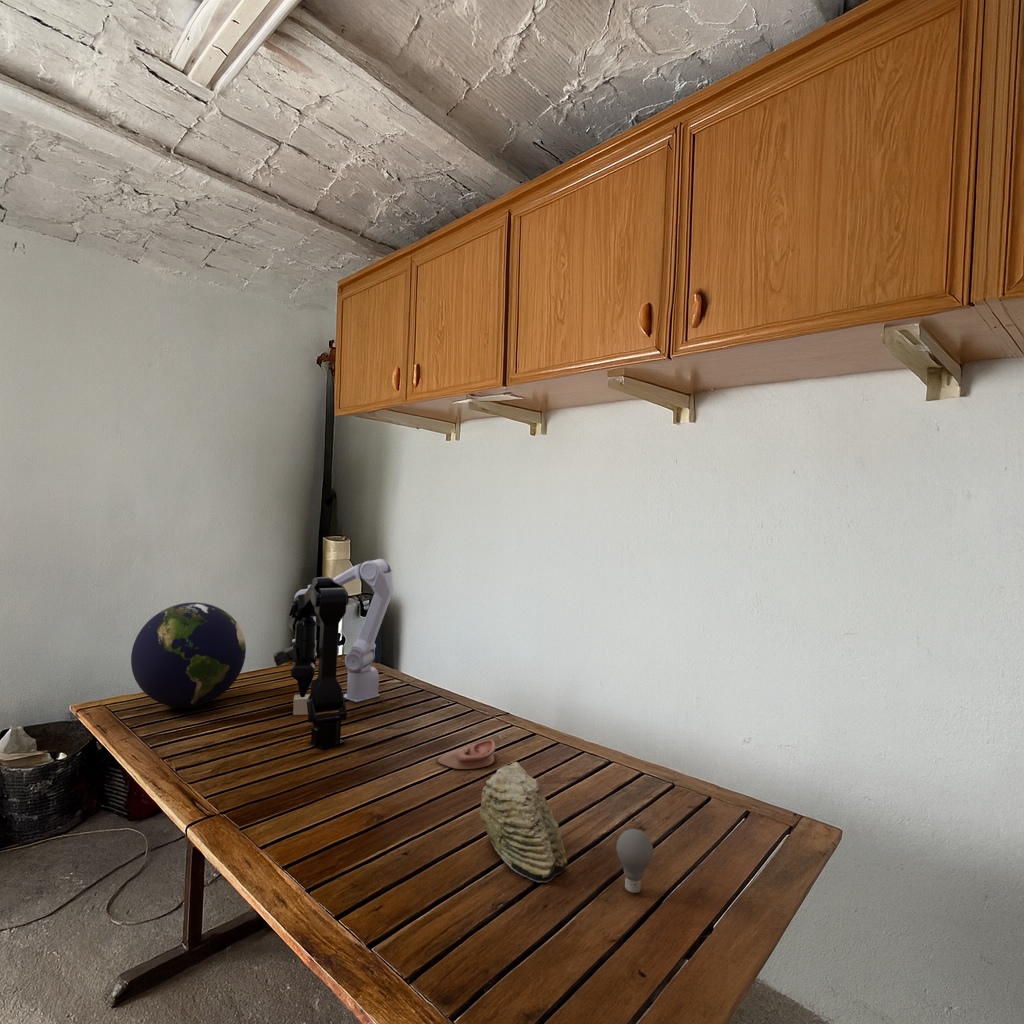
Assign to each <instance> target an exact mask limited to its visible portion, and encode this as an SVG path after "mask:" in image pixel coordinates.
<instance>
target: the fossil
mask: <svg viewBox="0 0 1024 1024" xmlns="http://www.w3.org/2000/svg"><path fill="white" fill-rule="evenodd" d="M479 819H480V820H481V822H482V823H483V827H484V829H485V832H486V833H487V836H488V838H489V840H490V842H491V844H492V845H493V848H494V850H495V852H496V853H497V854H498V856H500V858H501V859H502V861H503V862H504V863H505V864H506V865H507V867H509V868H510V869H511V870H513V871H514V873H517V874H519V875H520V876H522V877H525V878H527V879H528V880H531V881H533V882H536V883H548V882H550V881H552V880H553V879H554V878H555V877H556V876H557V875H560V874H561V873H563V872H564V871H565V870H566V868H567V867H568V866H569V863H568V859H567V856H566V848H565V847H564V841H563V838H562V834H561V831H560V826H559V824H558V822H557V821H556V818H555V817H554V813H553V811H552V810H551V807H550V805H549V803H548V802H547V799H546V796H545V794H544V790H543V789H542V786H541V784H540V781H539V780H537V779H535V778H533V777H532V776H531V775H529V773H528V772H527V771H526V769H524V768H523V766H521V764H520V763H519V762H518V761H513V762H512V763H511V764H509V765H507V764H506V765H504V766H502V767H500V768H498V769H497V770H496V772H495V773H494V774H492V775H491V776H490V778H489V779H487V780H486V782H485V786H483V788H482V792H481V802H480V808H479Z"/></svg>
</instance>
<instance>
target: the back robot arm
mask: <svg viewBox="0 0 1024 1024" xmlns="http://www.w3.org/2000/svg"><path fill="white" fill-rule="evenodd" d="M392 573H393V569H392V567H391V565H390V563H389V562H388V561H387V560H386V559H384V558H376V559H373V560H366V561H364V562H363V563H359V564H356V565H353V566H352V567H350V568H348V569H347V570H345V571H344V572H341V573H340V574H339V575H337V576H335V577H332V578H333V580H334V581H335V582H337V583H339V584H341V585H343V586H344V585H346V584H348V583H350V582H352V581H354V580H356V579H358V580H361V579H363V580H364V582H366V584H368V585H369V587H371V589H372V591H373V593H374V594H373V596H372V599H371V602H370V604H369V607H368V610H367V613H366V615H365V618H364V621H363V624H362V626H361V629H360V631H359V634H358V637H357V639H356V641H355V642H354V643H353V645H352V646H351V649H350V650H349V652H348V653H346V655H345V656H344V665H345V667H346V669H347V679H346V680H347V682H346V693H343V695H344V700H347V701H351V702H354V703H359V702H364V701H368V700H370V699H371V700H372V699H374V698H378V697H380V696H381V694H379V685H380V684H379V683H380V675H379V674H380V673H379V671H378V669H377V668H376V667H374V666H372V663H373V662H374V661H375V658H376V654H375V652H376V647H377V645H376V643H375V642H376V640H377V639H376V638H377V636H378V634H379V631H380V628H381V625H382V623H383V620H384V617H385V615H386V612H387V608H388V607H389V604H390V601H391V598H392V596H393V593H394V585H393V577H392ZM310 586H311V584H308V585H307V588H304V589H303V588H302V589H299V590H298V591H297V592H296V593H295V594H294V597H293V598H294V599H295V597H296V596H298V595H301V594H305V593H306V591H307V590H308V589H309V587H310ZM294 599H293V600H294ZM313 619H314V621H316V622H317V616H315V617H313ZM291 642H292V643H293V644H294V642H295V638H294V639H293V638H292V641H291Z"/></svg>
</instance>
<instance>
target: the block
mask: <svg viewBox="0 0 1024 1024" xmlns="http://www.w3.org/2000/svg"><path fill="white" fill-rule="evenodd" d="M309 695H310V693H308V694H307V693H306V695H305V697H300V694H294V697H293V707H292V715H293V716H304V715H307V716H308V710H307V701H308V697H309Z"/></svg>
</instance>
